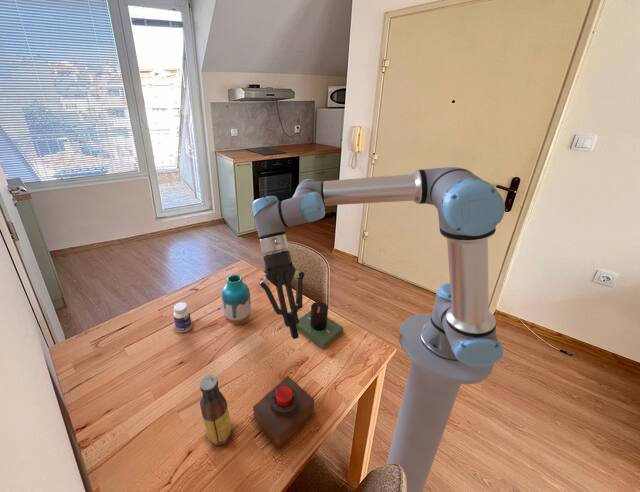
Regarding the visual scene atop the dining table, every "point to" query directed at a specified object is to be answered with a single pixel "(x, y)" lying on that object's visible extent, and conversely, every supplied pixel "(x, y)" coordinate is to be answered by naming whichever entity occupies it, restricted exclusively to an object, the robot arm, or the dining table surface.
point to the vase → (236, 300)
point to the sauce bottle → (214, 411)
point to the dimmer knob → (319, 316)
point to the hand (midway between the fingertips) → (295, 337)
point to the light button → (283, 396)
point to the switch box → (283, 413)
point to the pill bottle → (182, 317)
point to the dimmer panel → (319, 337)
